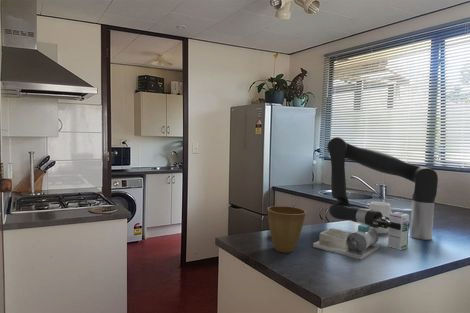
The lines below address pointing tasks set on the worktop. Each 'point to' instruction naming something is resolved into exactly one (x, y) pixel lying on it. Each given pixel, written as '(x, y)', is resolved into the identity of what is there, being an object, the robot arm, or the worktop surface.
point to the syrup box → (399, 231)
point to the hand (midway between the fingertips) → (404, 226)
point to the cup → (384, 210)
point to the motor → (349, 241)
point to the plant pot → (285, 226)
